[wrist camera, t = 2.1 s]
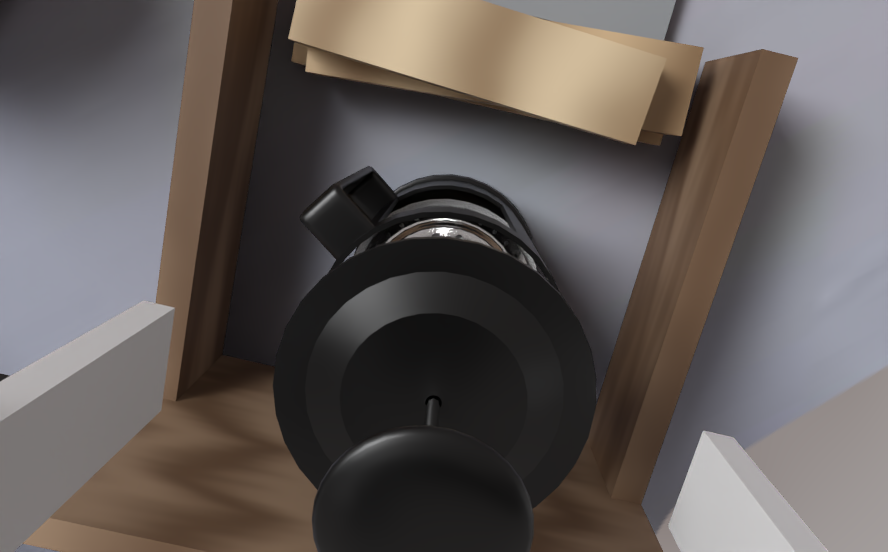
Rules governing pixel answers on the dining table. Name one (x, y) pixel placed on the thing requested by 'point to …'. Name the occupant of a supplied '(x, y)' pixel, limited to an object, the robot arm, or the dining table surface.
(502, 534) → the french press
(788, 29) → the dining table surface
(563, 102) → the offcut stack
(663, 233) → the wooden box
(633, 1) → the slate mat
